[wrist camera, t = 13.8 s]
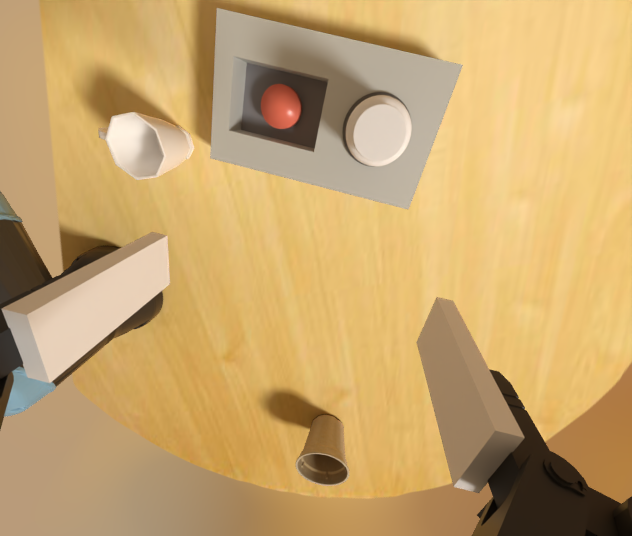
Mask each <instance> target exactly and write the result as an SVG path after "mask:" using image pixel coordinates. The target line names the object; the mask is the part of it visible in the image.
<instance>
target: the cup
mask: <svg viewBox="0 0 632 536" xmlns="http://www.w3.org/2000/svg"><path fill="white" fill-rule="evenodd" d="M98 131H99V138H101V139H104V140H106V142H107V145H108V147H109V150H110V152H111V154H112V157H113V159H114V162H115V164H116V165H117V166H118V167H120V168H121V169H122V170H124V171H125V172H127V173H128V174H129V175H131V176H132V177H133V178H135V179H136V180H140V179H147V178H154V177H158V176H160V175H162V174H164V173H166V172H167V171H169V170H171V169H173V168H175V167H177V166H179V165H180V164H181V163H182V162H183V161H184V160H185V159H189V158H190V156H191V154H192V152H193V149H194V145H193V142H192V139H191V135H190V134H189V133H188V132H187V131H186V130H184V129H183V128H182V127H180V126H179V125H176V126H175V125H173V124H171V123H169V122H167V121H165V120H162V119H158V118H154V117H151V116H147V115H144V114H140V113H137V112H130V113H125V114H120V115H115V116H112V118H111V121H110V124H109V127H104V128H99V130H98Z"/></svg>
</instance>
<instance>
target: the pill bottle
mask: <svg viewBox="0 0 632 536" xmlns="http://www.w3.org/2000/svg"><path fill="white" fill-rule="evenodd" d="M411 131H412V124H411V118H410V115H409V113H408V111H407V109H406V107H405V106H404V105H403V104H402V103H401V102H400V101H398V100H397V99H395V98H393V97H390V96H386V95H376V96H372V97H370V98H367V99H365V100H364V101H362V102H361V103H360V104H359V105H358V106H357V107H356V108H355V109H354V110H353V112H352V113H351V115H350V117H349V119H348V122H347V126H346V142H347V146H348V148H349V150H350V152H351V154H352V155H353V156H354V157H355V158H356V159H357V160H358V161H360V162H361V163H363V164H366V165H368V166H384V165H387V164H389V163H391V162H393V161H394V160H396V159H397V158H398V157H399V156H400V155H401V154H402V153H403V152H404V150H405V149H406V147H407V145H408V143H409V140H410V137H411Z"/></svg>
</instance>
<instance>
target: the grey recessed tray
mask: <svg viewBox="0 0 632 536" xmlns="http://www.w3.org/2000/svg"><path fill="white" fill-rule="evenodd" d="M462 66H463V65H461V64H456V63H452V62H448V61H443V60H439V59H435V58H430V57H426V56H422V55H418V54H413V53H409V52H405V51H400V50H396V49H392V48H387V47H383V46H379V45H375V44H370V43H366V42H362V41H357V40H353V39H349V38H344V37H340V36H336V35H331V34H327V33H323V32H319V31H314V30H310V29H306V28H301V27H297V26H293V25H288V24H284V23H280V22H276V21H271V20H267V19H263V18H258V17H254V16H250V15H245V14H241V13H237V12H232V11H228V10H224V9H220V8H217V14H216V38H215V61H214V85H213V108H212V132H211V156H210V158H211V159H215V160H219V161H223V162H227V163H231V164H235V165H239V166H242V167H246V168H250V169H254V170H258V171H262V172H266V173H269V174H273V175H277V176H281V177H285V178H289V179H293V180H296V181H300V182H304V183H308V184H312V185H316V186H320V187H323V188H327V189H331V190H335V191H339V192H343V193H347V194H350V195H354V196H358V197H362V198H366V199H370V200H374V201H377V202H381V203H385V204H389V205H393V206H397V207H401V208H404V209H409V207H410V204H411V201H412V199H413V196H414V193H415V191H416V188H417V185H418V183H419V180H420V177H421V175H422V172H423V169H424V167H425V164H426V161H427V159H428V156H429V153H430V151H431V148H432V145H433V143H434V140H435V137H436V135H437V132H438V130H439V127H440V124H441V122H442V119H443V116H444V114H445V111H446V108H447V106H448V103H449V100H450V98H451V95H452V92H453V90H454V87H455V84H456V82H457V79H458V76H459V74H460V71H461V68H462ZM274 84H284V85H286V86H288V87H291V88H292V89H294V90H295V91H296V92H297V93H298V95H299V97H300V99H301V102H302V114H301V117H300V119H299V121H298V122H297V123H296V124H295V125H294V126H293V127H291V128H287V129H277V128H274V127H272V126H271V125H269V124H268V123H267V122H266V120H265V119H264V117H263V115H262V111H261V99H262V96H263V94H264V92H265V91H266V90H267V89H268V88H269V87H270V86H272V85H274ZM376 95H386V96H390V97H393V98H395V99H397V100H398V101H400V102H401V103H402V104H403V105H404V106H405V107H406V109H407V111H408V113H409V115H410V118H411V124H412V131H411V137H410V140H409V143H408V145H407V147H406V149H405V150H404V152H403V153H402V154H401V155H400V156H399V157H398V158H397V159H396V160H394V161H393V162H391V163H389V164H387V165H384V166H368V165H366V164H363V163H361V162H360V161H358V160H357V159H356V158H355V157H354V156H353V155H352V154H351V152H350V150H349V148H348V146H347V142H346V126H347V122H348V119H349V117H350V115H351V113H352V112H353V110H354V109H355V108H356V107H357V106H358V105H359V104H360V103H361V102H362V101H364V100H365V99H367V98H370V97H372V96H376Z"/></svg>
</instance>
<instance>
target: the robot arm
mask: <svg viewBox="0 0 632 536" xmlns="http://www.w3.org/2000/svg"><path fill="white" fill-rule="evenodd" d="M21 222H22V219H21V218H20V217H18V216H17V215H16V214H15V212H14V211H13V209H12V208H11V206H10V205H9V203H8V201H7V200H6V198H5V197H4V195H3V194H2V193H1V192H0V429H1V425H2V422H3V418H4V416H11V415H15V414H18V413H21V412H23V411H25V410H26V409H28V408H29V407H30V406H32V405H33V404H35V403H36V402H37V401H39V400H40V399H41V398H43V397H44V396H46V395H47V394H48V393H50V392H52V391H54V390H55V388H56V386H58V385H59V384H60V383H61V382H62V381H64V380H65V379H66V378H67V377H68V376H69V375H71V374H72V373H73V372H74V371H75V370H77V369H78V368H79V367H80V366H81V365H82V364H84V363H85V362H86V361H87V360H88V359H90V358H91V357H92V356H93V355H94V354H95V353H97V352H98V351H99V350H100V349H101V348H103V347H104V346H105V345H106V344H107V343H109V342H110V341H111V340H112V339H113V338H116V337H118V336H120V335H123V334H125V333H127V332H129V331H131V330H132V329H137V328H140V327H142V326H144V325H146V324H147V323H149V322H150V321H151V320H152V319H153V318H154V317H155V316H156V315H157V314H158V313H159V312H160V310H161V308H162V304H163V294H162V290H163V289H164V288H166V287H167V286H168V285H169V284H170V276H169V258H168V241H167V235H163V234H159V233H154V232H151V233H149V234H147V235H145V236H143V237H141V238H139V239H137V240H135V241H134V242H132V243H130V244H128V245H126V246H124V247H122V248H117V247H112V246H100V247H96V248H94V249H92V250H89V251H87V252H85V253H83V254H81V255H80V256H79V257H77V258H76V259H75V260H74V262H73V263H72V265H71V266H70V267H69V268H68V269H66V270H65V271H64V272H63V273H62V274H61V275H59V276H56V277H54V278H52V277H51V275H50V273H49V271H48V270H47V268H46V266H45V265H44V263H43V261H42V259H41V257H40V256H39V254H38V252H37V250H36V248H35V247H34V245H33V243H32V241H31V239H30V237H29V236H28V234H27V232H26V230H25V228H24V226H23V225H22V223H21ZM417 345H418V349H419V353H420V357H421V361H422V365H423V369H424V373H425V377H426V380H427V384H428V388H429V392H430V396H431V400H432V404H433V408H434V412H435V416H436V420H437V423H438V427H439V431H440V435H441V439H442V443H443V447H444V451H445V455H446V459H447V463H448V466H449V470H450V474H451V478H452V482H453V486H454V487H457V488H461V489H465V490H469V491H473V492H476V493H479V492H480V491H481V490H482V489H483V487H484V486H485V485H486V484H487V483H489V486H490V489H491V492H492V495H493V498H492V499H491V500H490V501H489V502H488V503H487V504H486V506H485V507H484V508H483V509H482V510H481V511H480V512H479V513H478V515H477V516H478V517H479V518H480V520H479V522H478V524H477V526H476V528H475V530H474V532H473V535H472V536H632V497H630V498H629V499H627V500H626V501H625V502H624V503H622V504H621V503H619V502H617V501H615V500H613V499H611V498H609V497H607V496H605V495H603V494H601V493H599V492H598V491H596V490H594V489H592V488H590V487H588V485H587V484H586V481H585V480H584V478H583V477H582V476H581V475H580V473H579V472H578V471H577V470H576V469H575V468H574V467H573V466H572V465H571V464H570V463H568V462H567V461H566V460H565V459H563V458H562V457H560V456H559V455H557V454H555V453H553V452H551V451H549V449H548V447H547V445H546V443H545V442H544V440H543V438H542V437H541V435H540V433H539V431H538V430H537V428H536V426H535V424H534V423H533V421H532V419H531V418H530V416H529V414H528V412H527V411H526V410H525V407H524V405H523V404H522V402H521V400H519V399H518V395H517V393H516V392H515V390H514V388H513V386H512V385H511V384H510V382H509V381H508V380H507V379H506V378H505V377H504V376H503V375H502V374H501V373H500V372H498V371H494V370H489V368H488V366H487V365H486V363H485V361H484V359H483V357H482V355H481V353H480V351H479V349H478V347H477V345H476V344H475V342H474V340H473V338H472V336H471V334H470V332H469V330H468V328H467V326H466V324H465V323H464V321H463V319H462V317H461V315H460V313H459V311H458V309H457V307H456V305H455V303H454V302H453V301H451V300H447V299H443V298H438V297H437V298H436V300H435V302H434V304H433V307H432V309H431V311H430V313H429V316H428V318H427V320H426V322H425V325H424V327H423V329H422V331H421V334H420V336H419V338H418V340H417Z"/></svg>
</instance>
